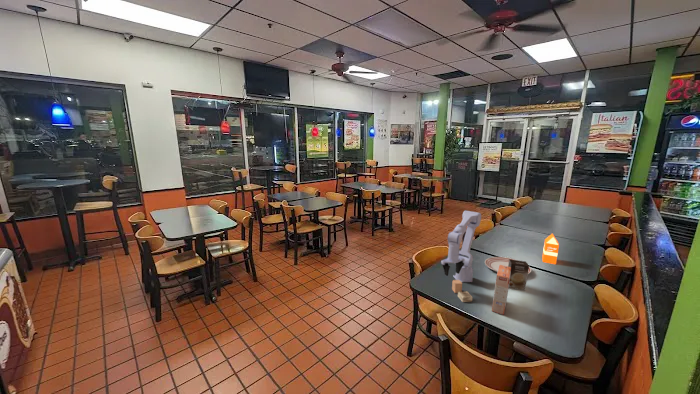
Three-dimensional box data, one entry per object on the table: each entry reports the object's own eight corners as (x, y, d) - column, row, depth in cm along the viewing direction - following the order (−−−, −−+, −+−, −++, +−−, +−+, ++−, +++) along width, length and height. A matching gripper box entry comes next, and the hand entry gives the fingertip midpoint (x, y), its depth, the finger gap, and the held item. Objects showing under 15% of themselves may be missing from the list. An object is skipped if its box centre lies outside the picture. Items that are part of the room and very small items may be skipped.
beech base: (467, 296, 152) (467, 291, 151) (472, 301, 146) (472, 297, 146) (457, 296, 151) (458, 291, 151) (462, 302, 146) (462, 297, 145)
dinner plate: (486, 275, 175) (486, 270, 174) (482, 258, 200) (483, 253, 199) (535, 283, 165) (536, 278, 164) (525, 264, 189) (526, 259, 189)
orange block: (458, 288, 158) (459, 279, 157) (461, 292, 155) (462, 283, 153) (451, 289, 158) (452, 280, 157) (454, 292, 154) (455, 283, 153)
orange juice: (554, 259, 195) (559, 234, 191) (556, 264, 188) (560, 237, 184) (541, 257, 199) (545, 232, 195) (542, 261, 192) (546, 235, 188)
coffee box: (507, 288, 159) (511, 263, 155) (505, 282, 165) (508, 258, 161) (525, 291, 156) (529, 265, 152) (522, 285, 162) (526, 261, 158)
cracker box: (504, 315, 134) (509, 278, 130) (491, 311, 138) (495, 274, 133) (506, 301, 146) (511, 266, 141) (494, 298, 149) (498, 263, 144)
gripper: (459, 248, 159) (457, 269, 162) (438, 251, 155) (437, 272, 158) (467, 252, 152) (465, 274, 155) (446, 256, 148) (444, 278, 151)
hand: (451, 273), depth 156 cm, fingers open, 7 cm apart
